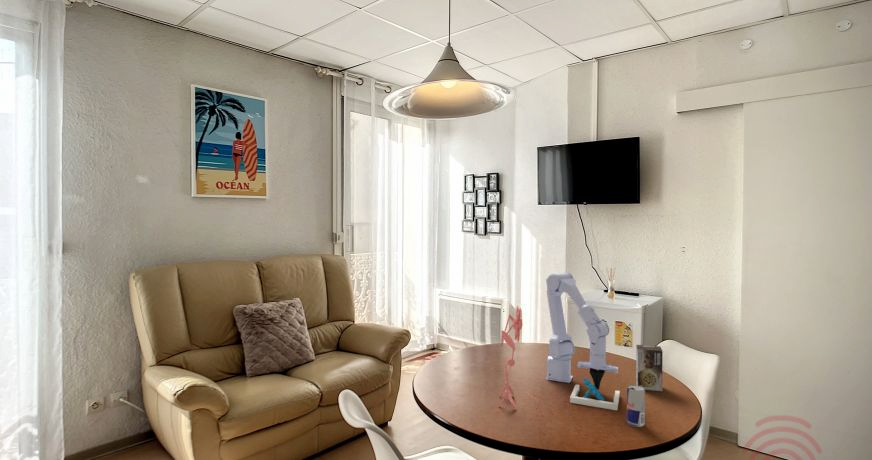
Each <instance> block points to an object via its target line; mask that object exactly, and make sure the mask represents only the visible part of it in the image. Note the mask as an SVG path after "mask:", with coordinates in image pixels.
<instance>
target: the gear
mask: <svg viewBox="0 0 872 460" xmlns="http://www.w3.org/2000/svg"><path fill="white" fill-rule="evenodd" d="M582 380H583V383H584V384H585V385H586V388H587V389H588V390H587V391H586V392H585V393H584V395H583V396H582V398H589V396H591V395H594V396H595V398H597V400H600V401H605V398H604V396H603V395H602V394H601V392H600V391H599V390H597V389H596V387H595V386H594V383H592V382H591V380H589V379H588V378H586V377H585V378H583V379H582Z"/></svg>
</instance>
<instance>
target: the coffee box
mask: <svg viewBox="0 0 872 460" xmlns="http://www.w3.org/2000/svg"><path fill="white" fill-rule="evenodd" d="M635 347H636V349H635V351H636V356H635V357H636V358H635V359H636V361H635V363H636V364H635V365H636V367H635V370H636V371H635V375H636V376H635V380H636V381H635V385H638V386H641V387H643V388H644V390H645V391H646V390H647V391H655V392H663V352H664V351H663V349H662V347H661V346H659V345H648V344H646V345H645V344H636V346H635Z"/></svg>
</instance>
